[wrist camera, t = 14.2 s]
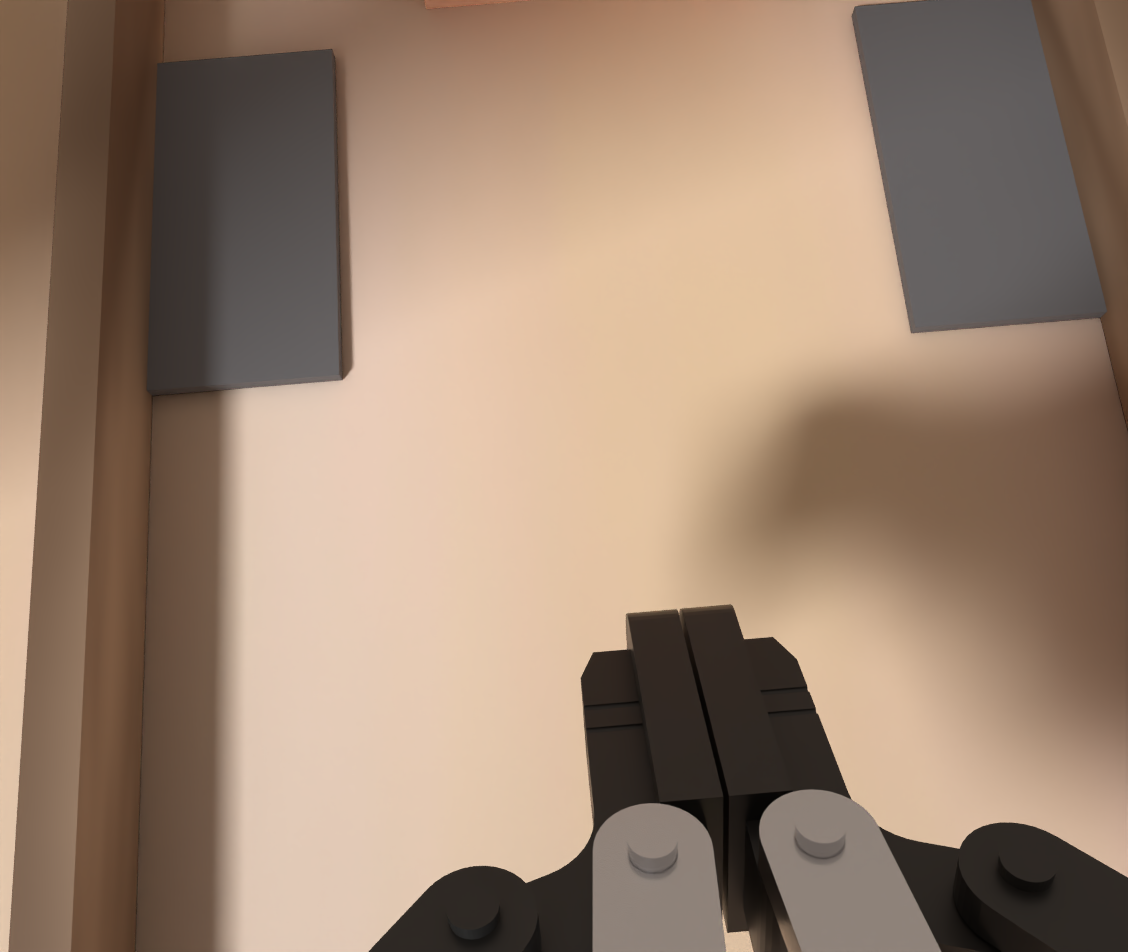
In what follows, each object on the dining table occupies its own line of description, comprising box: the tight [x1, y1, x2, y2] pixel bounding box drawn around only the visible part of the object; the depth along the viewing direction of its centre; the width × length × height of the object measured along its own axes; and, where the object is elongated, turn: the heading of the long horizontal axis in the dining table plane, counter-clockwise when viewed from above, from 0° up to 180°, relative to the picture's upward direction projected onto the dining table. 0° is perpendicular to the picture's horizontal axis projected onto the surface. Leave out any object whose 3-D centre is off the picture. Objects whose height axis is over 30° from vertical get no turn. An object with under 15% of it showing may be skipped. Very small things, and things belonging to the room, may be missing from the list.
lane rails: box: [9, 0, 1128, 952], centre depth 21 cm, size 22×38×5 cm, turn 5°
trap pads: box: [147, 0, 1107, 396], centre depth 23 cm, size 20×8×1 cm, turn 95°
